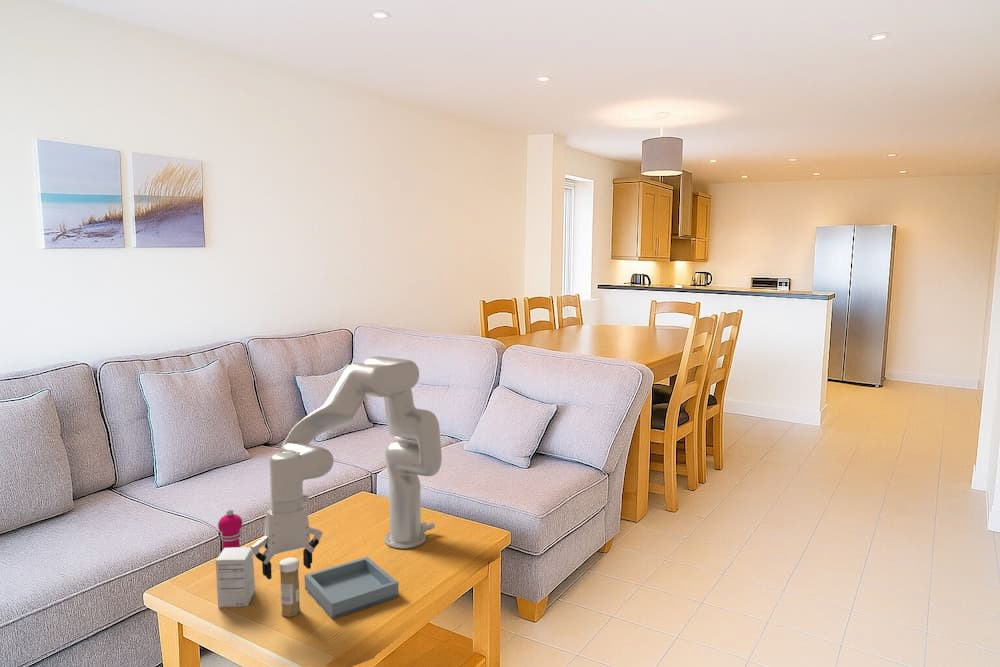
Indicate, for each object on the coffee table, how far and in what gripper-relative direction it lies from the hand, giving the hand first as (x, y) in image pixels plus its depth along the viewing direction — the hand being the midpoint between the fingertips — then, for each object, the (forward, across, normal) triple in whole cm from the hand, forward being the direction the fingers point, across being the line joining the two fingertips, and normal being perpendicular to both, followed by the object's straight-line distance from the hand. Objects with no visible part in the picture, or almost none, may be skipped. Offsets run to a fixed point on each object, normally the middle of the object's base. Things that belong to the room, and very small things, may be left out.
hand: (287, 571), depth 162 cm
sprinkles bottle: (+11, -1, 0) cm, 11 cm away
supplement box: (+11, +8, -14) cm, 20 cm away
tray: (+10, -17, 0) cm, 20 cm away
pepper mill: (+11, +6, -25) cm, 28 cm away
